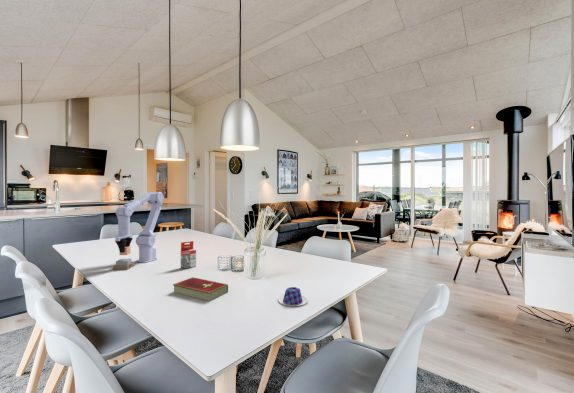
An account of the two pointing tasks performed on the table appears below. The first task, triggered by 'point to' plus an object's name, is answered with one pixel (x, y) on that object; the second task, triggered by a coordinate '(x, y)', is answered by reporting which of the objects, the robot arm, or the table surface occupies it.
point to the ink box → (188, 255)
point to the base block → (123, 267)
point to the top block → (123, 262)
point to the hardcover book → (200, 288)
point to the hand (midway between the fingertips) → (124, 251)
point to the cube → (126, 252)
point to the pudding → (292, 297)
